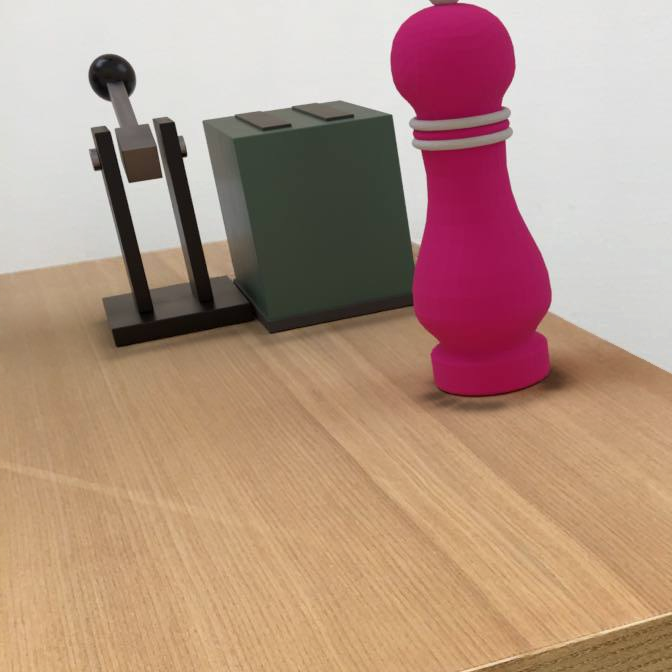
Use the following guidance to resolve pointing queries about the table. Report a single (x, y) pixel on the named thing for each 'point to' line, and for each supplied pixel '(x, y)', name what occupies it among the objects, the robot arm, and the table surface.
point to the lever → (126, 117)
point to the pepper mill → (470, 204)
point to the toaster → (313, 211)
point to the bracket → (201, 291)
